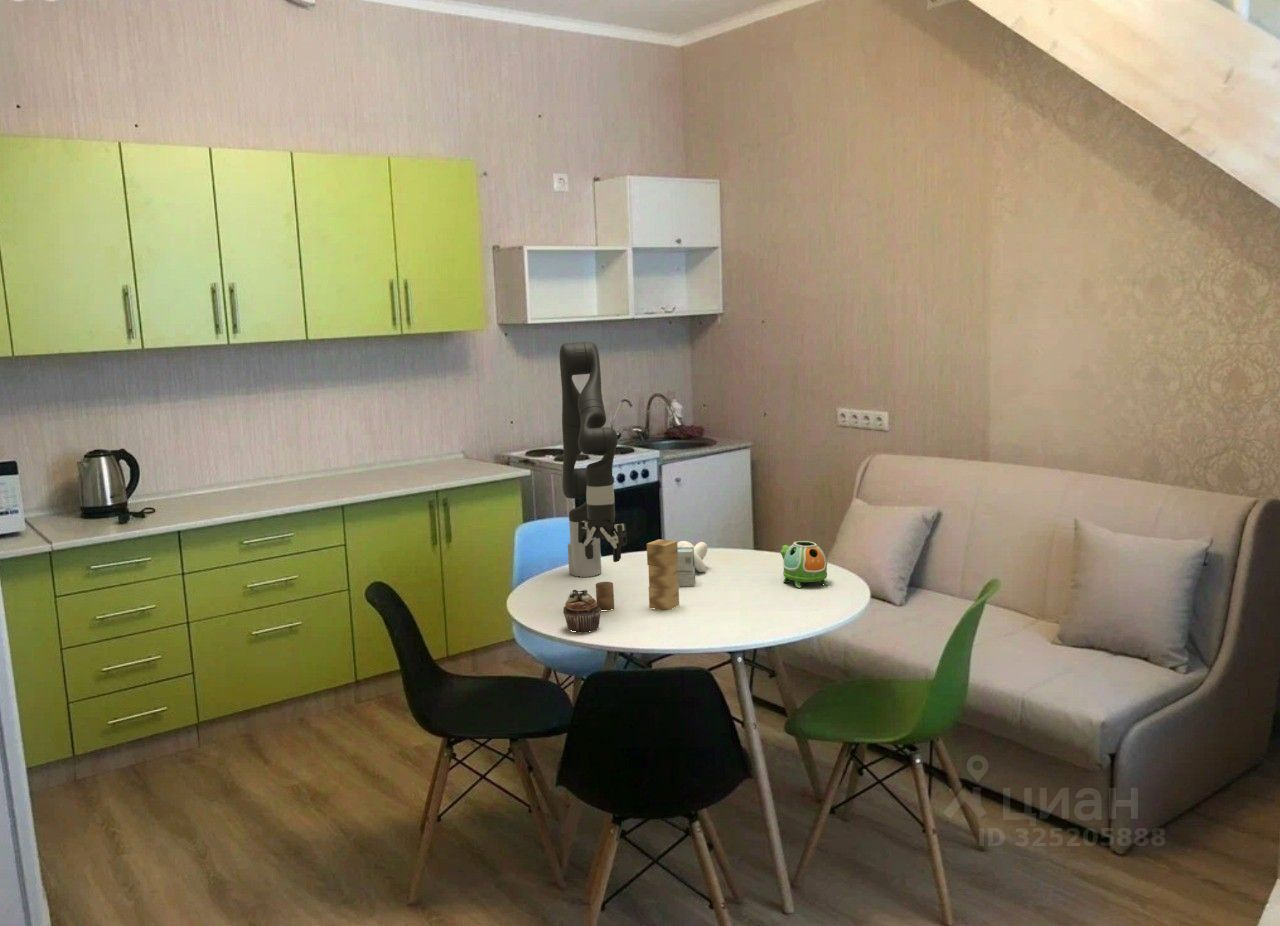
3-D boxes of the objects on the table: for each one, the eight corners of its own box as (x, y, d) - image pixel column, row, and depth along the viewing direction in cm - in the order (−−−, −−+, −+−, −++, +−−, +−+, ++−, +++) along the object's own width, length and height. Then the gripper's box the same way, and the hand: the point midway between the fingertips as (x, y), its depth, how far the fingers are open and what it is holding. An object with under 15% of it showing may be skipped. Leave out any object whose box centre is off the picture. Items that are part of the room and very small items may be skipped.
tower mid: (649, 587, 278) (648, 566, 278) (657, 582, 284) (656, 560, 283) (669, 589, 276) (669, 567, 275) (677, 583, 282) (677, 562, 281)
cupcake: (602, 633, 260) (600, 594, 259) (564, 635, 259) (562, 597, 258) (601, 621, 270) (599, 584, 268) (564, 624, 269) (562, 587, 267)
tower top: (647, 565, 278) (646, 543, 278) (659, 560, 283) (658, 539, 282) (666, 567, 275) (665, 545, 274) (678, 562, 280) (677, 541, 279)
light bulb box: (695, 581, 306) (694, 545, 305) (694, 587, 300) (693, 551, 298) (659, 581, 308) (658, 546, 306) (658, 587, 301) (656, 551, 299)
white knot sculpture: (667, 575, 314) (666, 547, 313) (674, 566, 325) (673, 538, 324) (703, 576, 311) (702, 547, 310) (709, 566, 323) (708, 538, 322)
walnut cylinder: (593, 610, 280) (592, 585, 279) (602, 605, 284) (601, 580, 283) (608, 612, 278) (607, 587, 277) (617, 607, 282) (616, 582, 281)
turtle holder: (802, 572, 312) (801, 533, 310) (836, 585, 295) (835, 545, 294) (767, 577, 307) (766, 538, 305) (799, 591, 291) (798, 550, 289)
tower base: (649, 608, 280) (648, 587, 279) (660, 602, 285) (659, 581, 284) (668, 610, 277) (667, 589, 276) (679, 605, 282) (678, 583, 281)
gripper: (570, 502, 277) (573, 561, 280) (615, 505, 270) (618, 565, 272) (586, 497, 284) (589, 555, 286) (630, 500, 276) (632, 559, 279)
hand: (603, 560), depth 279 cm, fingers open, 8 cm apart
